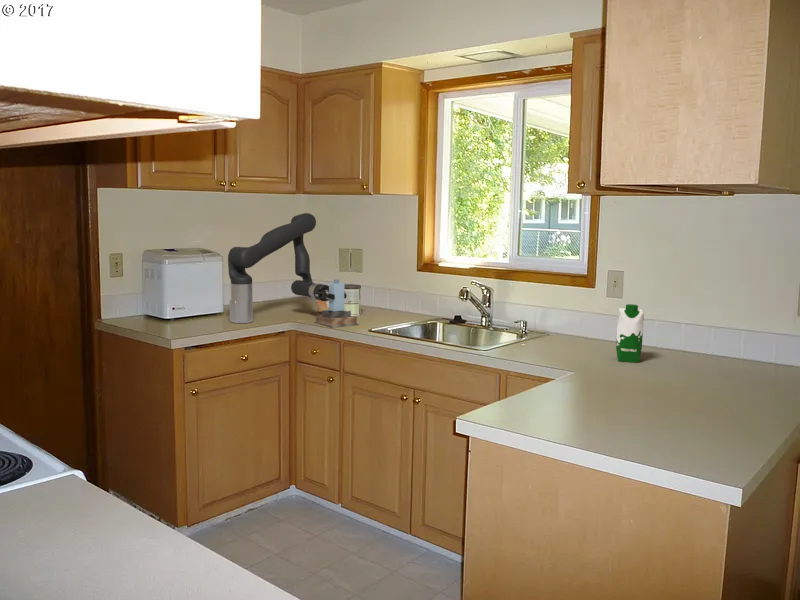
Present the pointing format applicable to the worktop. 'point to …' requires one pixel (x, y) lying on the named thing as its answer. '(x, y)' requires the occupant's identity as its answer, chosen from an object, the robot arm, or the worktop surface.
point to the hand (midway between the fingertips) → (339, 296)
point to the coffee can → (353, 299)
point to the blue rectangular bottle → (336, 296)
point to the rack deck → (336, 319)
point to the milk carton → (629, 333)
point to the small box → (323, 305)
